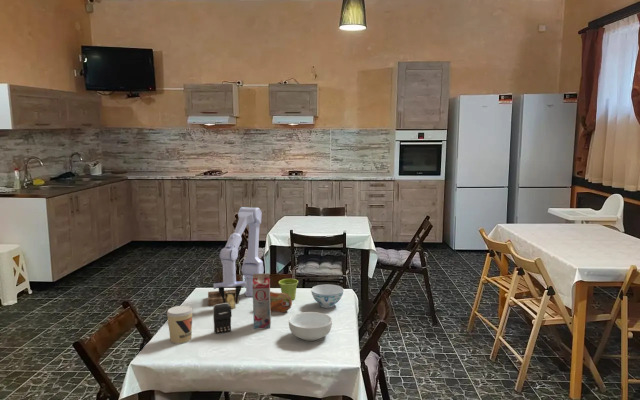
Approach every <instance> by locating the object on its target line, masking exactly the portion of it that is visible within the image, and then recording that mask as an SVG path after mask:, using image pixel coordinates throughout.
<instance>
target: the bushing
mask: <svg viewBox="0 0 640 400" xmlns="http://www.w3.org/2000/svg"><path fill="white" fill-rule="evenodd" d="M225 302H226V303H228V304H229V305H230V306H231V310H234V309H236V304H235V292H233V291H230V292H226V293H225Z"/></svg>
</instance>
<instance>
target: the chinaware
mask: <svg viewBox="0 0 640 400" xmlns="http://www.w3.org/2000/svg"><path fill="white" fill-rule="evenodd" d="M310 289H311V290H310V291H311V295H312V297H313V299H314V301H315V302H317V303H318V304H319V305H320V307H322V308H324V309H325V308H326V309H329V308H335V305H336V304H338V302H340V300H341V299H342V297H343V294H344V290H345V289H344V288H343V287H342V286H340V285H336V284H330V283H329V284H318V285H314V286H312V288H310Z"/></svg>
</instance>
